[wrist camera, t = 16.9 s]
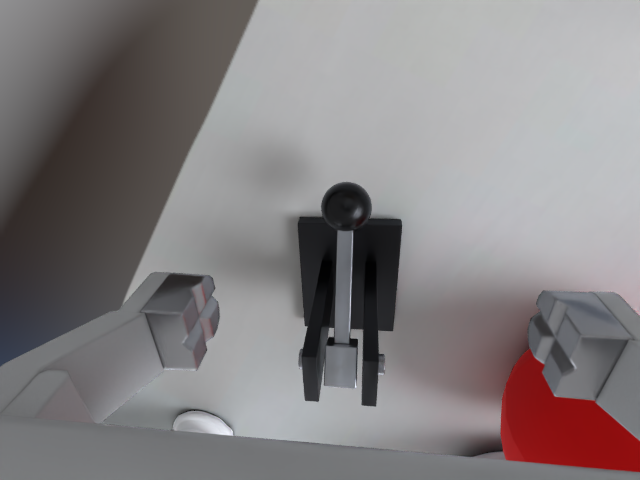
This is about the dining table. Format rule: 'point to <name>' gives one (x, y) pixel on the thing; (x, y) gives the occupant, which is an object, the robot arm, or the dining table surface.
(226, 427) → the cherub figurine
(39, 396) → the robot arm
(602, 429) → the vase
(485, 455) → the bowl
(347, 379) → the lever handle
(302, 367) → the lever bracket
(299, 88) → the dining table surface
